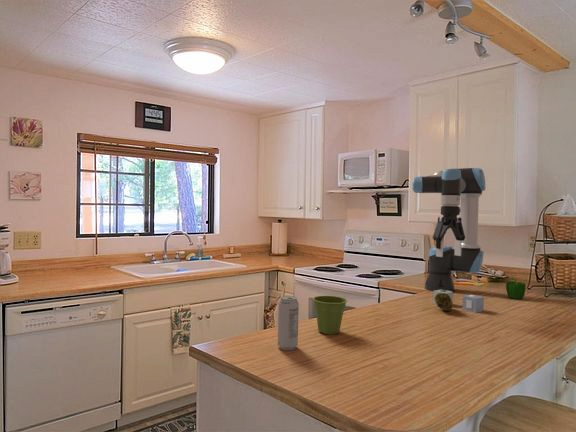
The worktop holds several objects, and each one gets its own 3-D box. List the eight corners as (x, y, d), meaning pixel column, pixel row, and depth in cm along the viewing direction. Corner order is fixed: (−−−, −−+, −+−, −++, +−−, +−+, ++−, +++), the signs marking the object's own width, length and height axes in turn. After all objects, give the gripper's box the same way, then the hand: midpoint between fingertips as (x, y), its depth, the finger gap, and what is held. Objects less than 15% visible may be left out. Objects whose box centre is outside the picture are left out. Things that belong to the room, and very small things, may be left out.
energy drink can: (286, 343, 134) (287, 294, 134) (301, 347, 130) (302, 297, 130) (273, 347, 130) (274, 297, 129) (288, 352, 126) (290, 300, 126)
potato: (459, 310, 186) (460, 291, 185) (447, 315, 176) (448, 295, 176) (440, 306, 191) (441, 288, 191) (427, 311, 182) (428, 292, 182)
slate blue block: (462, 309, 186) (462, 295, 186) (470, 308, 190) (470, 293, 190) (475, 312, 182) (475, 297, 181) (483, 311, 185) (483, 296, 185)
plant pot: (318, 337, 141) (319, 303, 140) (307, 328, 152) (308, 296, 152) (352, 335, 144) (353, 302, 144) (338, 326, 155) (339, 294, 155)
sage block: (432, 303, 197) (433, 290, 197) (440, 302, 201) (441, 288, 201) (444, 306, 192) (444, 292, 192) (452, 304, 196) (452, 291, 196)
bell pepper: (528, 300, 209) (529, 279, 209) (511, 300, 210) (511, 279, 209) (519, 297, 218) (520, 277, 218) (503, 296, 218) (503, 276, 218)
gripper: (440, 204, 173) (439, 258, 173) (474, 206, 188) (473, 255, 188) (424, 204, 179) (423, 256, 179) (458, 206, 194) (457, 254, 194)
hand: (448, 256), depth 183 cm, fingers open, 13 cm apart
